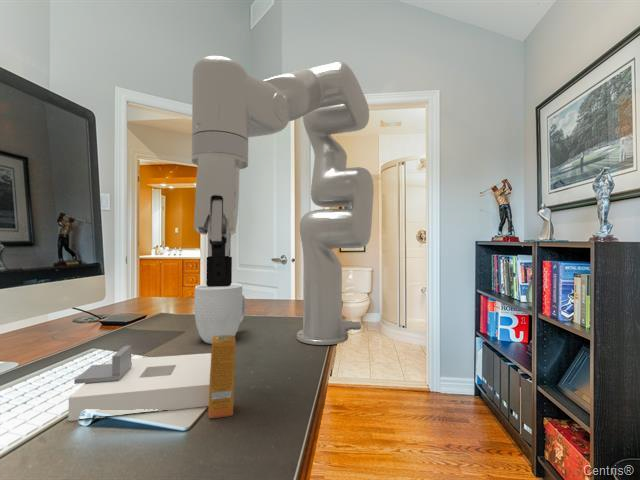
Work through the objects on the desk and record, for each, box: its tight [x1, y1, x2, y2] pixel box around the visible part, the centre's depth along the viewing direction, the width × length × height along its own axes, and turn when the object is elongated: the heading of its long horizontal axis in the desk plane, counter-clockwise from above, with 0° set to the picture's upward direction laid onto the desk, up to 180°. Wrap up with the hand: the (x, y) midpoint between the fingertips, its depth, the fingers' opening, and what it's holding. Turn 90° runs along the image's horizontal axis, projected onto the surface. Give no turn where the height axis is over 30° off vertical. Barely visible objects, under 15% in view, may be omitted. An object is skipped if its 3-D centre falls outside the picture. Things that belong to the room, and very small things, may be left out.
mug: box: [193, 283, 247, 345], centre depth 79 cm, size 15×11×13 cm
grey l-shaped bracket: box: [73, 345, 132, 385], centre depth 49 cm, size 6×6×3 cm
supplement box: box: [208, 335, 237, 419], centre depth 44 cm, size 3×3×10 cm
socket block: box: [67, 352, 211, 422], centre depth 50 cm, size 18×14×3 cm
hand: (219, 285), depth 45 cm, fingers closed
